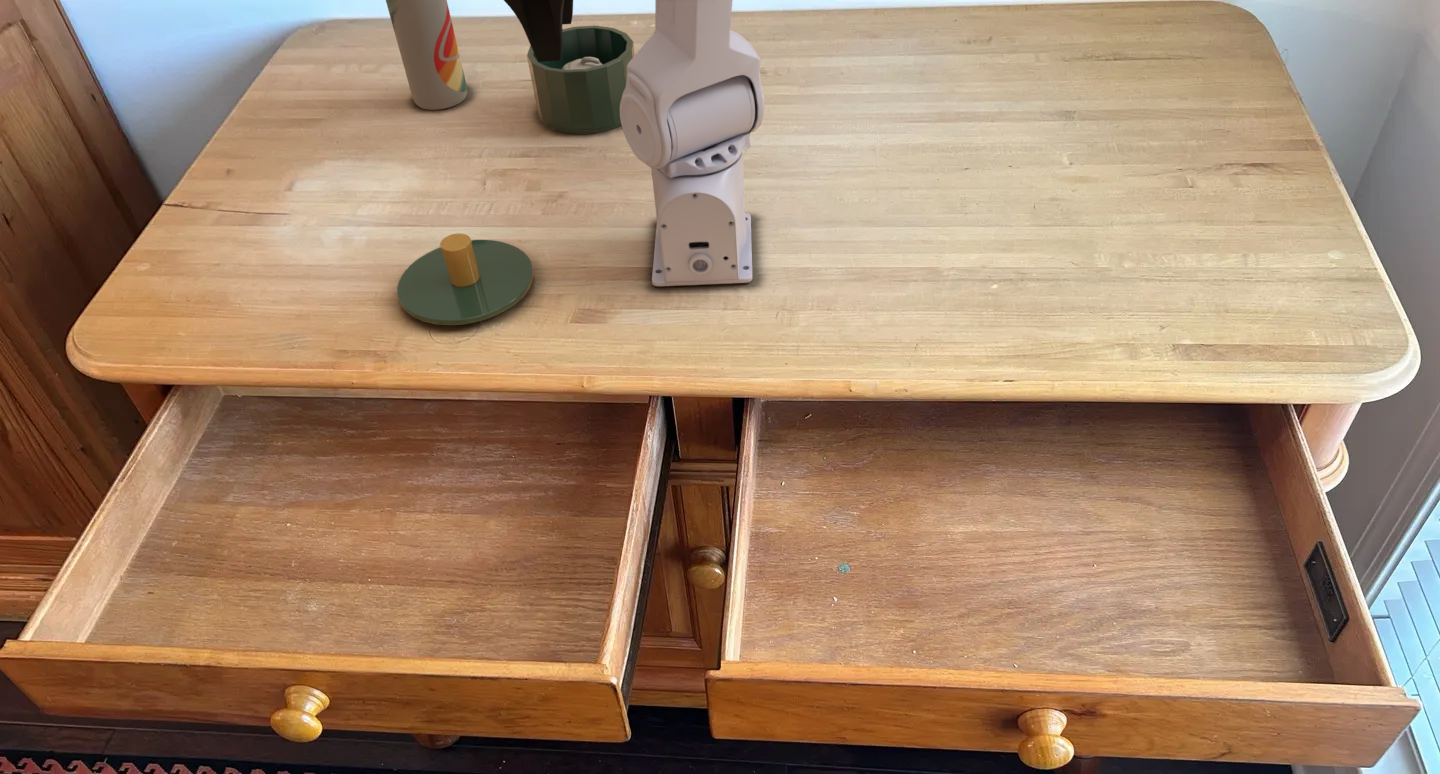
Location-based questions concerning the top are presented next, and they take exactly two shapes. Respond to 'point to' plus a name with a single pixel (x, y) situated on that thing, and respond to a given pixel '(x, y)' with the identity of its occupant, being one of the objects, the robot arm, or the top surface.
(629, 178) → the top surface
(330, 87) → the top surface
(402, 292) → the lid
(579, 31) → the pot
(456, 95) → the spray bottle
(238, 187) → the top surface
